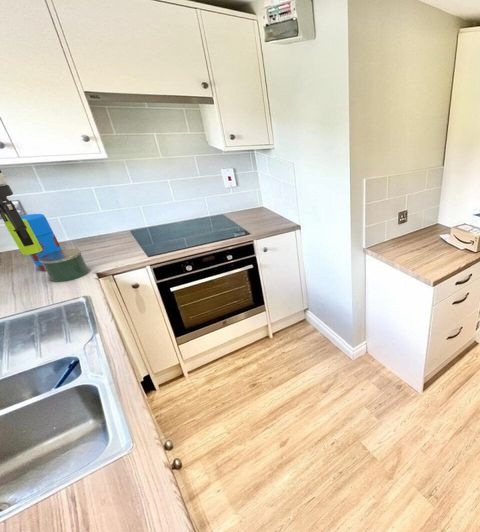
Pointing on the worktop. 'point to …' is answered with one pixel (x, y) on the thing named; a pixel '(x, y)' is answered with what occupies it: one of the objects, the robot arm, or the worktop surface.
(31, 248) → the soap dispenser
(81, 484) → the worktop surface
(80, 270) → the tin
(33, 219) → the blue spotted box
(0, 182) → the robot arm
